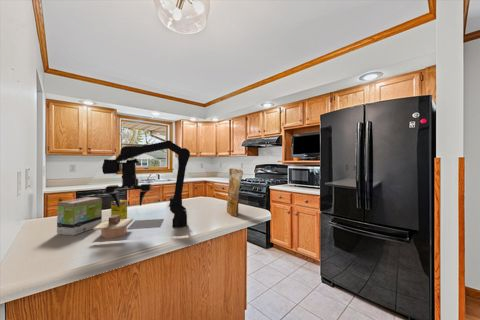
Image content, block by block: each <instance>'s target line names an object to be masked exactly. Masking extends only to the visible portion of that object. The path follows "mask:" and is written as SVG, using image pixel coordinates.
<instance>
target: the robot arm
mask: <svg viewBox="0 0 480 320" xmlns="http://www.w3.org/2000/svg"><path fill="white" fill-rule="evenodd" d="M168 149H169V150H170V151H171V152H173V153H175V154H176V155H177V161H178V162H177V165H178V168H177V173H176V174H177V175H176V180H175V188H174V194H173V196H170V197H169V204H168V208H169V210H170V213H172V215H173V218H172V228H184V227H188V213H187V208H186V207H185V206H184V205H183V188H184V184H185V175H186V168H187V165H188V162H189V159H190V156H191V152H190V150H189V149H188V148H185V147H184V148H183V147H181V146H179V145H177V144H176V143H174V142H173V141H171V140H164V141H160V142H155V143H151V144H145V145H127V146H125V145H124V146H122V148H121V149H120V150H119V154H118V156H117V157H116V158H115V159H110V158H108V159H107V158H103V163H102V167H101V169H102V173H103V174H104V175H113V174H114V175H115V174H116V175H118V174H119V173H120V172H121V179H122V181H121V183H122V185H121V186H119V185H118V184H114V185H113V184H112V185H111V184H110V185H107V186H106V187H105V189H104V193H105V194H108V195H110V196H111V197H112V199H113V200H114V201H115V202H116V204H117V206H118V207H120V200H121V198H120V191H134V190H136V191H137V190H140V191H139V207H140V206H142V204H143V200H144V198H145V195H146V193H148V192H149V191H152V184H151V183H142V184H140V185H139V179H138V178H137V174H136V173H137V171H136V169H137V168H136V164H140V163H141V162H140V160H138V159H137V157H140V156H141V155H145V154H147V153H154V152H158V151H159V152H160V151H163V150H168Z"/></svg>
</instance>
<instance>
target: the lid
mask: <svg viewBox="0 0 480 320" xmlns="http://www.w3.org/2000/svg"><path fill="white" fill-rule="evenodd" d="M133 220H134V219H133V218H125V219H120V215H112V216H110V217H108V219H105V220H103V221H102V223H100V224H99V225H97V226H96V227H94V228H93V231H101V230H105V229H120V228H126V227H127V228H128V227H129V226H130V225H131V224H132V223H133V222H134V221H133ZM131 222H132V223H131Z"/></svg>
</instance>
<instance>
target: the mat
mask: <svg viewBox="0 0 480 320" xmlns="http://www.w3.org/2000/svg"><path fill="white" fill-rule="evenodd" d="M164 221H165V218H158V219H157V218H156V219H153V218H151V219H136V220H134V221H132V223H130V224H129V225H128V227H127V230H138V229H156V228H157V229H158V228H161V226H162V224H163V223H164Z"/></svg>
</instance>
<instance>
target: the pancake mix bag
mask: <svg viewBox="0 0 480 320" xmlns="http://www.w3.org/2000/svg"><path fill="white" fill-rule="evenodd" d="M228 170H229V171H228V172H229V175H228V189H227V190H228V191H227V201H226V202H227V203H226V213H228V214H229V215H230V216H231V217H238V216H239V195H240V187H241V182H242V179H243V176H244V171H243V170H242V169H237V168H229V169H228Z"/></svg>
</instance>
